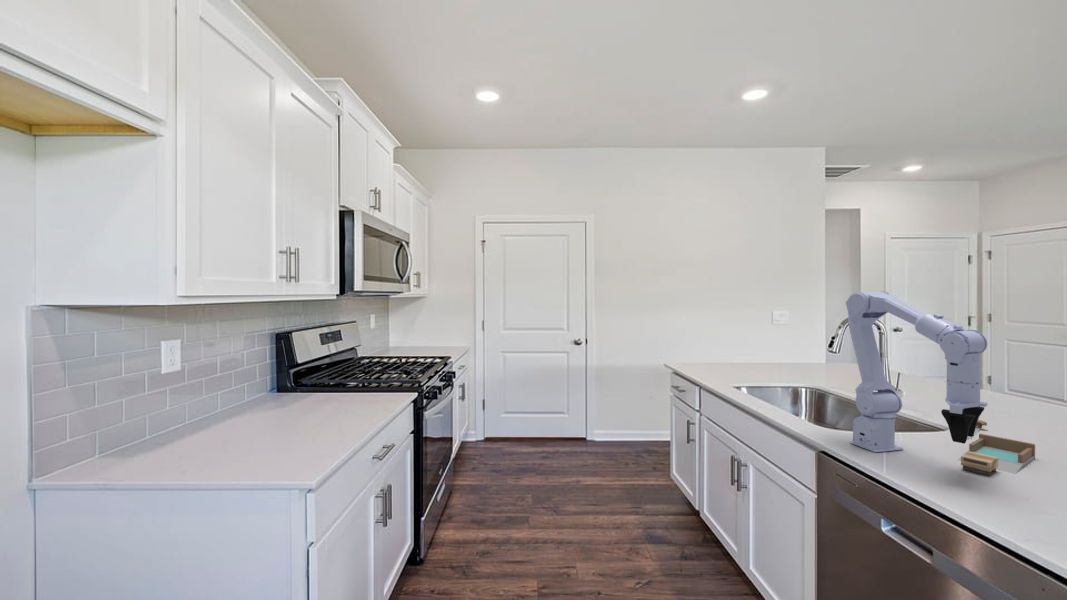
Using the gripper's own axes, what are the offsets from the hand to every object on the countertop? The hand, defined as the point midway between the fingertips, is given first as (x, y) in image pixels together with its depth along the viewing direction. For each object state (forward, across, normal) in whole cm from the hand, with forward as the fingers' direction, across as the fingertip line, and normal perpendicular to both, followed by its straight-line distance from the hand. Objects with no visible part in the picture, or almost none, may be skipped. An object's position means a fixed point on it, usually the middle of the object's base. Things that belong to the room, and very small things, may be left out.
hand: (962, 438), depth 105 cm
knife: (+10, +47, +6) cm, 48 cm away
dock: (+10, +21, -3) cm, 24 cm away
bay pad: (+9, +23, -3) cm, 25 cm away
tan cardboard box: (+9, +8, -2) cm, 13 cm away
